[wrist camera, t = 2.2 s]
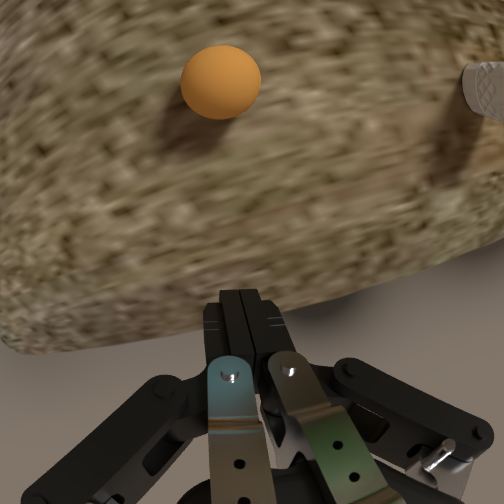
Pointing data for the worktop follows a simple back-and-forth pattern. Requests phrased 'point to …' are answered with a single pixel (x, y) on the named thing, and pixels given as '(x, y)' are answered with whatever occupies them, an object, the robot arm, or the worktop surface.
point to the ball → (220, 82)
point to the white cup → (485, 89)
